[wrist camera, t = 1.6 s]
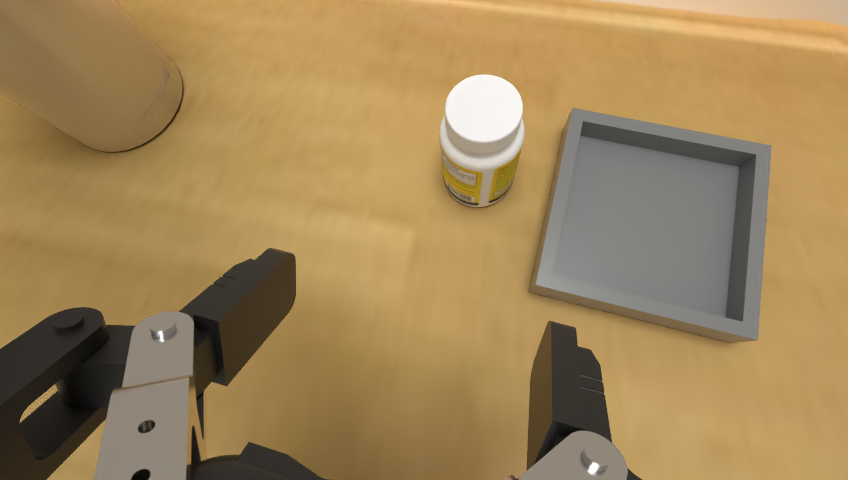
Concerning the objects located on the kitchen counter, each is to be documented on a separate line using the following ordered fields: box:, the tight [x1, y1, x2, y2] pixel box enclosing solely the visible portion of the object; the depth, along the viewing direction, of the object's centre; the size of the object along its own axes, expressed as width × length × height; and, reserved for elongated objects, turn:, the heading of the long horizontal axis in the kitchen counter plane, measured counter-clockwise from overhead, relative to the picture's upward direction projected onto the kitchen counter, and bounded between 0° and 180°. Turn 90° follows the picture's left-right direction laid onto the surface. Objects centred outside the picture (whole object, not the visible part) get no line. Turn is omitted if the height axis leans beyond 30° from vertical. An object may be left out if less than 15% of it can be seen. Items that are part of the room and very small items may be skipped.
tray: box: [529, 108, 771, 343], centre depth 27 cm, size 12×12×2 cm
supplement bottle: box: [440, 75, 524, 207], centre depth 26 cm, size 5×5×8 cm
